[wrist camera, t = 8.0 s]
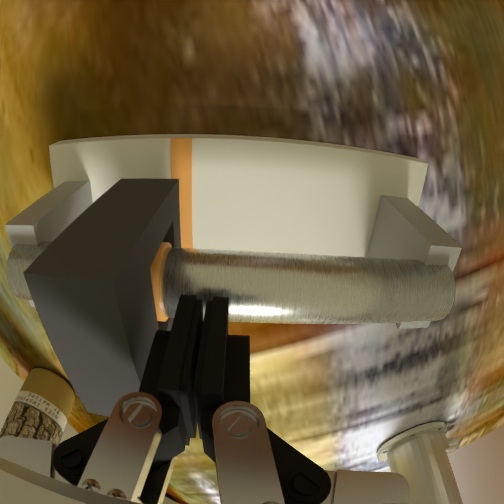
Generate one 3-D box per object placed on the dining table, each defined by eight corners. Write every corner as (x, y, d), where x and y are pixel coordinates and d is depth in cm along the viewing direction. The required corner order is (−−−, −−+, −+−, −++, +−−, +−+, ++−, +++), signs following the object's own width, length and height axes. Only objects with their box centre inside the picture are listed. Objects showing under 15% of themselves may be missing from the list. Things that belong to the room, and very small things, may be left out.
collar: (179, 178, 15) (113, 281, 7) (184, 296, 18) (154, 424, 11) (121, 178, 14) (23, 272, 7) (135, 292, 18) (87, 412, 10)
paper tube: (22, 362, 29) (-45, 527, 8) (59, 366, 29) (-7, 557, 7) (48, 396, 33) (-2, 548, 11) (86, 401, 32) (40, 572, 11)
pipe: (434, 250, 14) (463, 282, 12) (417, 296, 16) (439, 332, 13) (31, 229, 13) (-1, 259, 11) (44, 277, 15) (18, 310, 12)
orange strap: (192, 138, 16) (148, 181, 9) (194, 287, 21) (173, 384, 14) (171, 138, 16) (114, 181, 9) (177, 286, 21) (150, 381, 14)
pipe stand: (417, 158, 18) (491, 202, 11) (384, 282, 23) (424, 356, 16) (60, 140, 17) (-18, 177, 10) (80, 266, 22) (32, 335, 15)
